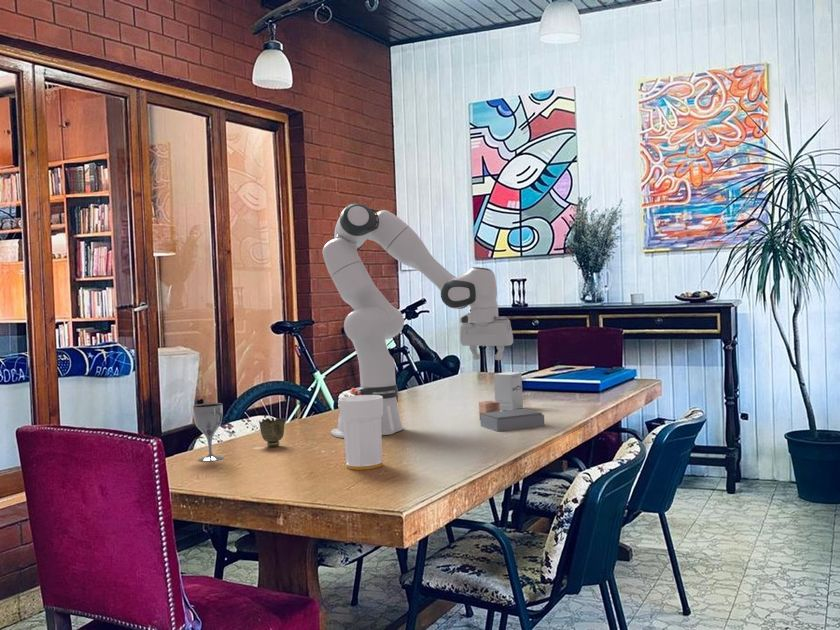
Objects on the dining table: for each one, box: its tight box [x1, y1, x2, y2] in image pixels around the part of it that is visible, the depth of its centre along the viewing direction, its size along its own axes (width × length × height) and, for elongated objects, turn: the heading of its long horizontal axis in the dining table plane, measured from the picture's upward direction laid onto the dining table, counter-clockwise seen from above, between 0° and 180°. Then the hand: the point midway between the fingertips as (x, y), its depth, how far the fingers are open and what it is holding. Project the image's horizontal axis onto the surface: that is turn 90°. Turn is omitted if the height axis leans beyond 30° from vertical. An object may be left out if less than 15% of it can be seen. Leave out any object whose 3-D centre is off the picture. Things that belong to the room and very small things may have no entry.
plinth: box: [479, 408, 546, 432], centre depth 266 cm, size 16×12×4 cm
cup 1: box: [258, 417, 286, 448], centre depth 252 cm, size 8×7×8 cm
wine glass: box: [192, 402, 225, 463], centre depth 238 cm, size 8×8×15 cm
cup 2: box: [338, 395, 383, 471], centre depth 218 cm, size 11×11×17 cm
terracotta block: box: [478, 400, 501, 417], centre depth 279 cm, size 5×5×6 cm
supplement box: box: [493, 371, 524, 411], centre depth 301 cm, size 7×7×13 cm
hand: (487, 359), depth 278 cm, fingers open, 8 cm apart
